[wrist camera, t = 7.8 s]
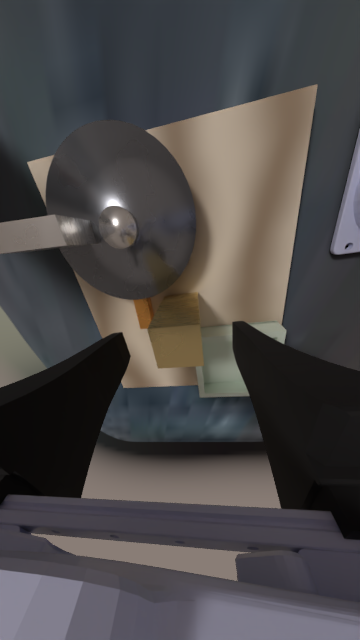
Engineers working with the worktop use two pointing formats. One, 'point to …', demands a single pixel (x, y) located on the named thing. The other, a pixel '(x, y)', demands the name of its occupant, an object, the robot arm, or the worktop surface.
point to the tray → (227, 360)
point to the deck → (223, 222)
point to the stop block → (177, 332)
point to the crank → (114, 213)
